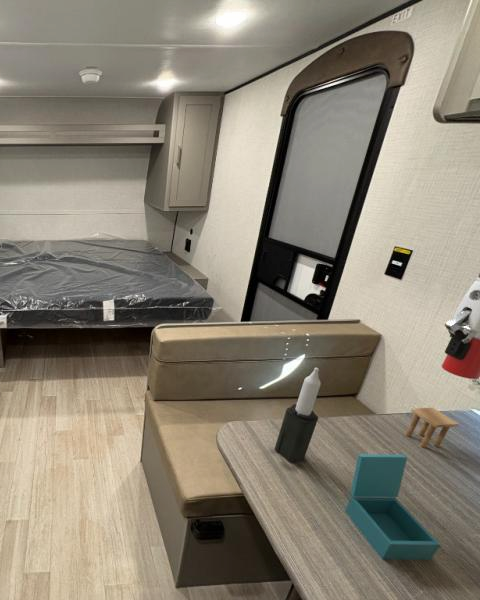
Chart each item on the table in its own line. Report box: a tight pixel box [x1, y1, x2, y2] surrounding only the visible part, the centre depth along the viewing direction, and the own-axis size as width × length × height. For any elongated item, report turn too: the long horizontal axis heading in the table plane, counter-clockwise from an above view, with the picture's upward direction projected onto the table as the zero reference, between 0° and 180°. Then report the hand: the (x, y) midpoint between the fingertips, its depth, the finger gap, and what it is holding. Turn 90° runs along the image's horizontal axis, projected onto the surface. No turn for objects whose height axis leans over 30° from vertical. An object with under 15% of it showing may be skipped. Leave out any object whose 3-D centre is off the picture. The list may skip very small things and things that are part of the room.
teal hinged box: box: [344, 496, 441, 560], centre depth 59 cm, size 9×9×5 cm
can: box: [441, 329, 480, 380], centre depth 68 cm, size 6×6×9 cm
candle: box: [274, 367, 321, 465], centre depth 73 cm, size 5×5×25 cm
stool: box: [405, 407, 460, 449], centre depth 80 cm, size 6×6×8 cm
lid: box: [350, 453, 408, 498], centre depth 61 cm, size 9×9×1 cm
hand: (468, 355), depth 68 cm, fingers closed on can, 5 cm apart
